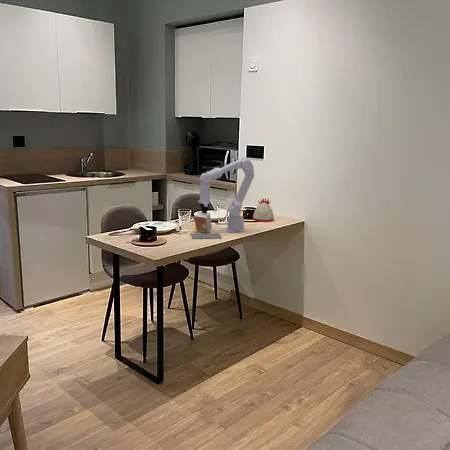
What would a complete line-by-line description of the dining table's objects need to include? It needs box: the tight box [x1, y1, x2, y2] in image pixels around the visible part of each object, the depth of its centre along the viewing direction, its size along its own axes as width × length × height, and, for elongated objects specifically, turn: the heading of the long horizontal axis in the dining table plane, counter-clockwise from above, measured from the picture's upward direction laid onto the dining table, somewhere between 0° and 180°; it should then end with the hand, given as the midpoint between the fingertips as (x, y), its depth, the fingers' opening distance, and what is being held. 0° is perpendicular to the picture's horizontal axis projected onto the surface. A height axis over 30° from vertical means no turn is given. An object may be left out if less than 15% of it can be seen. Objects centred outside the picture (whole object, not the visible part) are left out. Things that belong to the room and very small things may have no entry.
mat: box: [190, 232, 223, 240], centre depth 274 cm, size 17×10×1 cm, turn 100°
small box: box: [194, 211, 213, 233], centre depth 282 cm, size 8×6×10 cm
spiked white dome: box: [252, 197, 275, 223], centre depth 318 cm, size 14×14×15 cm
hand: (204, 216), depth 284 cm, fingers closed
